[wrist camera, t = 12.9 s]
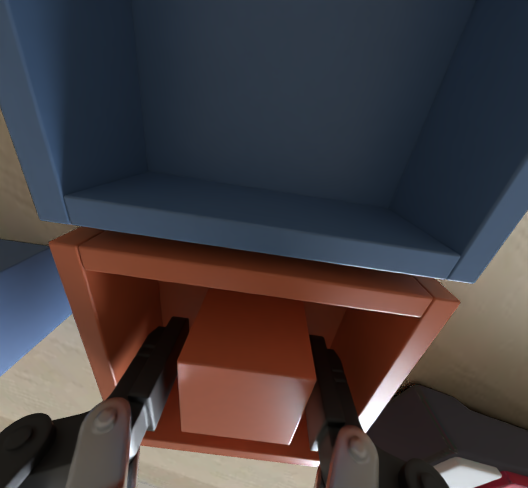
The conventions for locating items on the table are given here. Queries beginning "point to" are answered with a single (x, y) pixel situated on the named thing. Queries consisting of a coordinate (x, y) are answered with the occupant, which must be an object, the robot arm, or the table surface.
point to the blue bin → (277, 124)
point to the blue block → (28, 299)
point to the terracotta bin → (249, 281)
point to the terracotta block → (246, 367)
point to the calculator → (452, 440)
